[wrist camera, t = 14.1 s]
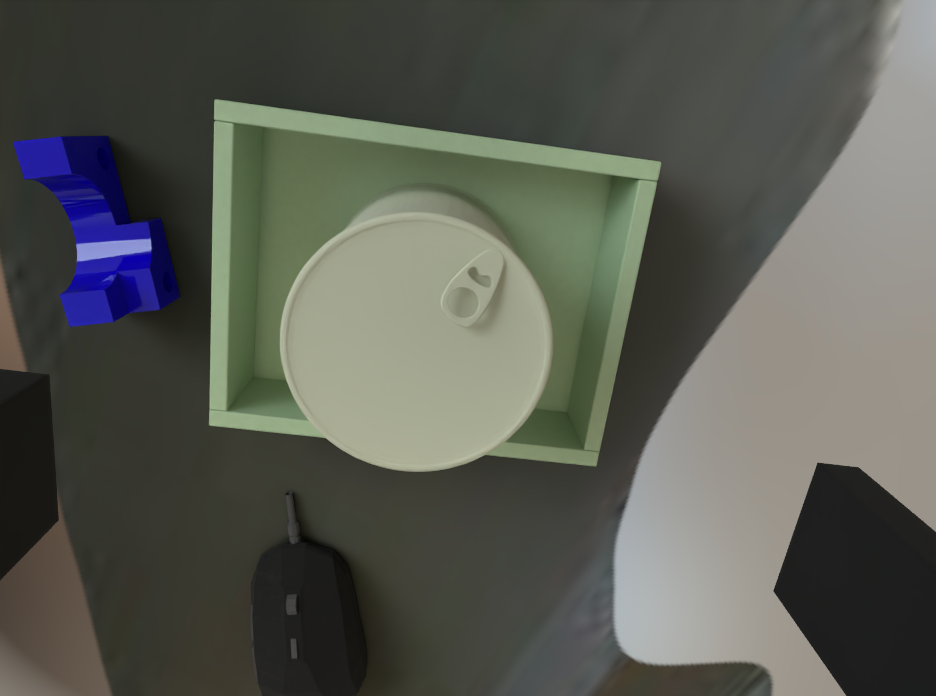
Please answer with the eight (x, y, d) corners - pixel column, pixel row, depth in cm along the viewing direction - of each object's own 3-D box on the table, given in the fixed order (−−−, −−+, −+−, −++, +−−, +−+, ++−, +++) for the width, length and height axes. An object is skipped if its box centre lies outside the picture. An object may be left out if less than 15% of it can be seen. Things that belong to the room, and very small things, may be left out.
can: (556, 262, 33) (615, 332, 22) (442, 398, 35) (441, 527, 24) (408, 141, 31) (386, 147, 20) (296, 293, 33) (218, 378, 22)
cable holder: (180, 297, 34) (146, 318, 30) (111, 304, 34) (69, 326, 30) (139, 132, 31) (97, 132, 27) (65, 140, 31) (13, 142, 27)
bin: (251, 104, 31) (213, 98, 26) (628, 157, 32) (662, 162, 27) (242, 384, 35) (208, 426, 30) (575, 420, 37) (596, 467, 32)
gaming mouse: (345, 487, 37) (334, 528, 34) (373, 694, 42) (366, 750, 38) (233, 495, 37) (209, 536, 34) (273, 701, 42) (256, 758, 38)
